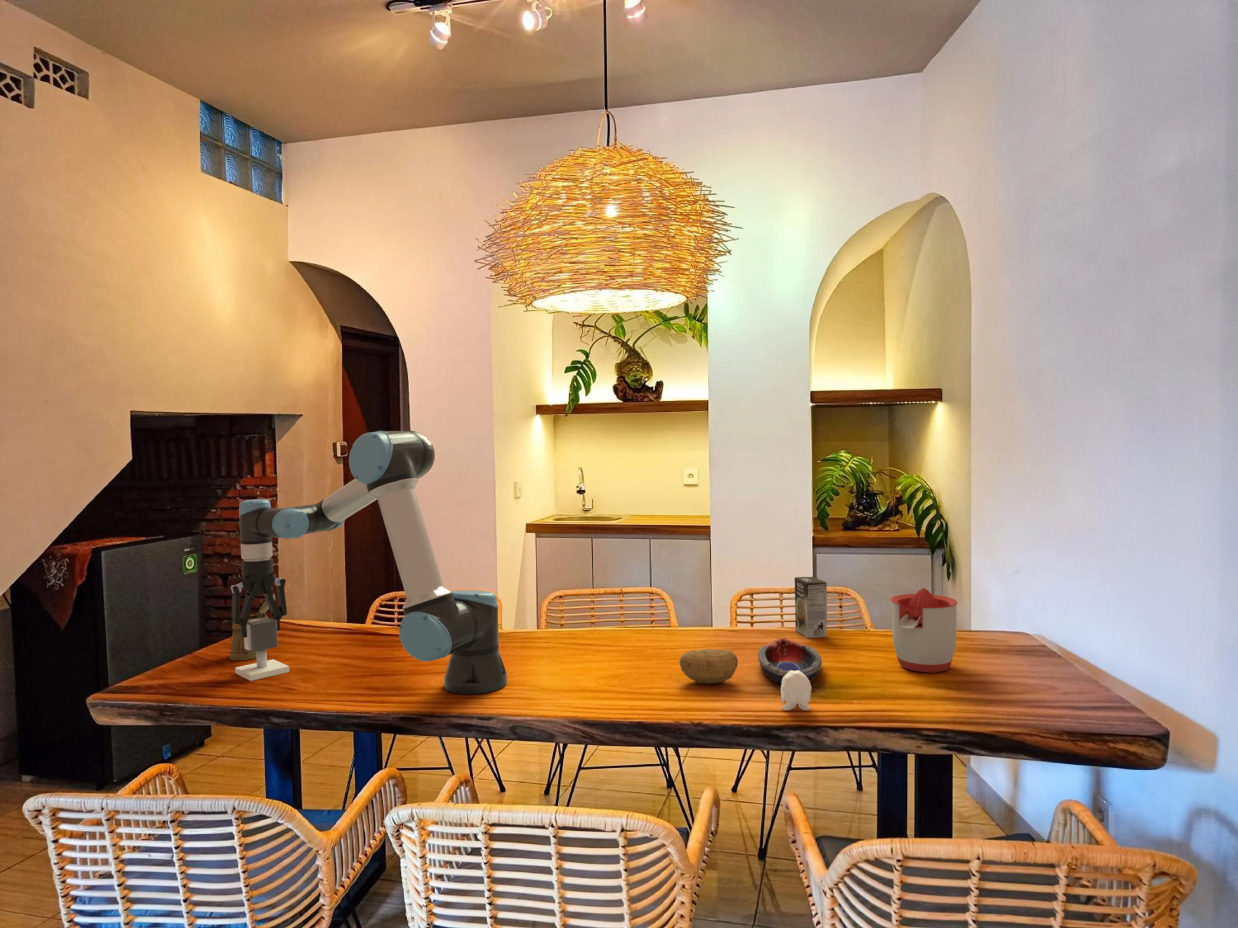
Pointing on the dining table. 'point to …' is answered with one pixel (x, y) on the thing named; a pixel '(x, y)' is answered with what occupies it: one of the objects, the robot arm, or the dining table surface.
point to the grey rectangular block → (263, 633)
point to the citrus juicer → (924, 631)
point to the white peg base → (261, 667)
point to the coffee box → (811, 607)
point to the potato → (709, 665)
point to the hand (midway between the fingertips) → (261, 646)
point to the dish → (788, 659)
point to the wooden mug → (238, 642)
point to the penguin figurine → (795, 690)
